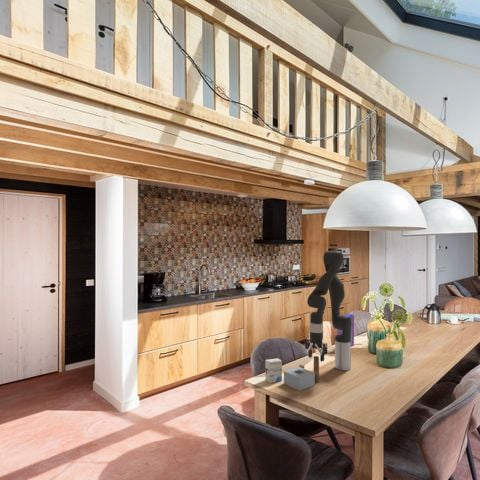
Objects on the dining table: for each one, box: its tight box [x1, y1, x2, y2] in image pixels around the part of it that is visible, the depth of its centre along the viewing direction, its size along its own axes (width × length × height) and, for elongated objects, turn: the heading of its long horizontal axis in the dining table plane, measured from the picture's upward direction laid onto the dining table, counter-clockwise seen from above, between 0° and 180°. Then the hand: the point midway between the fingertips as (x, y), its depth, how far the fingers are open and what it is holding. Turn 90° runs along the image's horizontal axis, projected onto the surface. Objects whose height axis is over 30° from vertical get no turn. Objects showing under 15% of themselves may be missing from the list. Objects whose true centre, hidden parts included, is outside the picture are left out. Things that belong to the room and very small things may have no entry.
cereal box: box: [336, 313, 355, 348], centre depth 267 cm, size 17×5×24 cm, turn 136°
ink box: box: [264, 357, 283, 384], centre depth 202 cm, size 8×5×12 cm, turn 111°
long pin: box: [313, 355, 320, 384], centre depth 201 cm, size 3×3×14 cm
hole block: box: [283, 366, 316, 392], centre depth 196 cm, size 12×12×7 cm
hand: (316, 359), depth 201 cm, fingers open, 8 cm apart
